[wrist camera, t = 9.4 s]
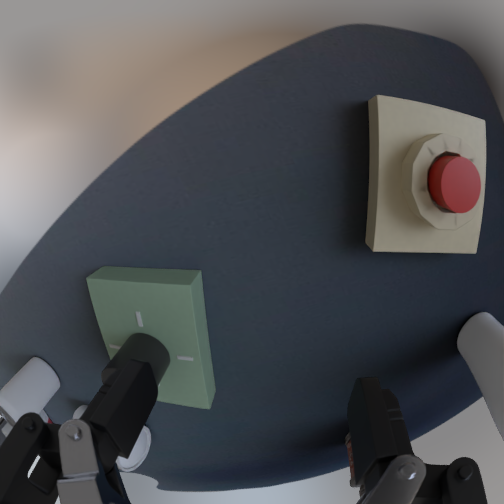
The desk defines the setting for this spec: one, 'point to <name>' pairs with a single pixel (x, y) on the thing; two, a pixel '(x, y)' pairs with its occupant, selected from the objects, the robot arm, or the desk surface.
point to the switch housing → (419, 177)
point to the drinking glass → (486, 360)
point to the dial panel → (159, 324)
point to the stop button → (454, 183)
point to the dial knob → (140, 355)
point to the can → (28, 390)
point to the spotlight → (138, 450)
